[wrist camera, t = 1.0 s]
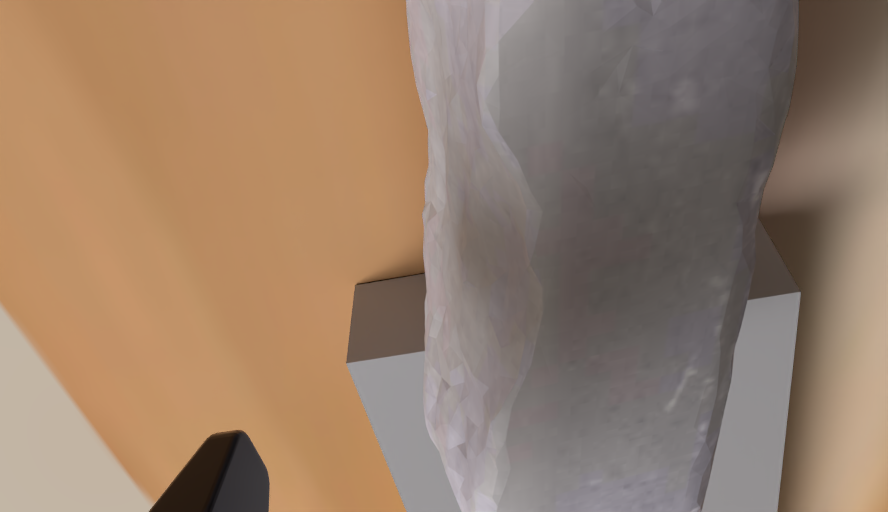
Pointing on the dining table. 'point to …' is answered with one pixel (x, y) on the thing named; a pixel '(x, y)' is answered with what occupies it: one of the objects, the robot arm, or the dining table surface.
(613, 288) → the stone block
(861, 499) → the dining table surface
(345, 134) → the dining table surface
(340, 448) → the dining table surface
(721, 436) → the gray plinth
